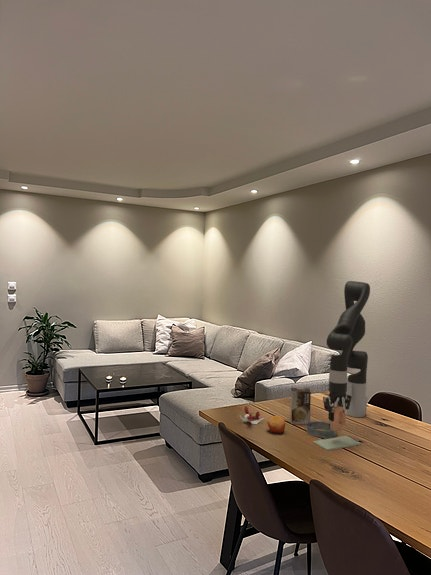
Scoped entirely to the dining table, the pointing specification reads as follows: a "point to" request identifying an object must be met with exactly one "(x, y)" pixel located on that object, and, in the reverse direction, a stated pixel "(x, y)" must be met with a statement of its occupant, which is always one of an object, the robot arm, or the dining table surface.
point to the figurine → (251, 417)
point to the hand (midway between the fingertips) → (336, 419)
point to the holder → (320, 433)
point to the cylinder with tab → (338, 419)
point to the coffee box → (300, 405)
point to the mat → (336, 443)
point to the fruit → (276, 424)
